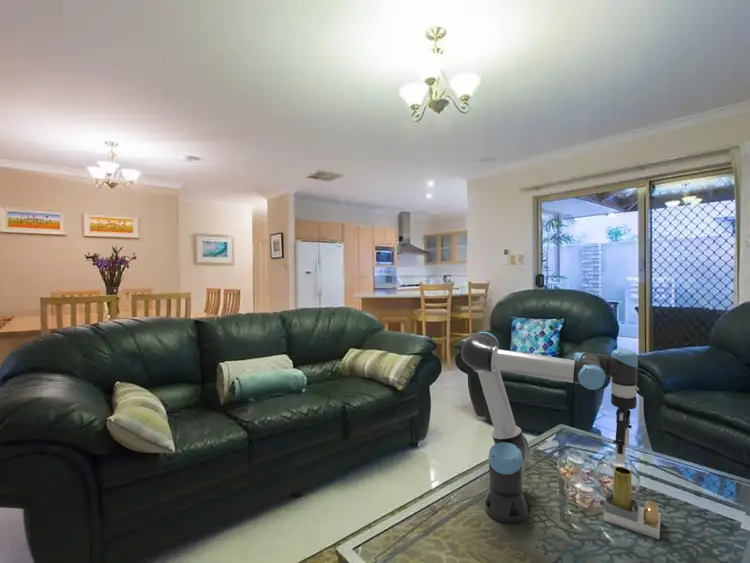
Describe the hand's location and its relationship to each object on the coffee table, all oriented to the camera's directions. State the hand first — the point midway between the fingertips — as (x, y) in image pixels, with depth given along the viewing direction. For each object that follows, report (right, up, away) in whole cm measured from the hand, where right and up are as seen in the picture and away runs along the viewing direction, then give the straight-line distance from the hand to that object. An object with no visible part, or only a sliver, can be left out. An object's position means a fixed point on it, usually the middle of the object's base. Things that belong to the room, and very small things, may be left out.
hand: (622, 453), depth 138 cm
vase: (+1, -21, +2) cm, 21 cm away
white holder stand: (+3, -24, 0) cm, 24 cm away
